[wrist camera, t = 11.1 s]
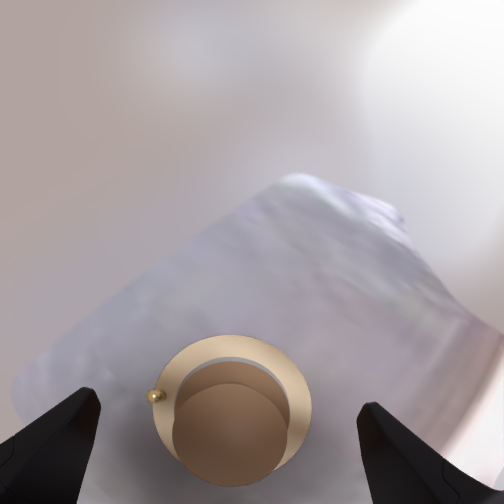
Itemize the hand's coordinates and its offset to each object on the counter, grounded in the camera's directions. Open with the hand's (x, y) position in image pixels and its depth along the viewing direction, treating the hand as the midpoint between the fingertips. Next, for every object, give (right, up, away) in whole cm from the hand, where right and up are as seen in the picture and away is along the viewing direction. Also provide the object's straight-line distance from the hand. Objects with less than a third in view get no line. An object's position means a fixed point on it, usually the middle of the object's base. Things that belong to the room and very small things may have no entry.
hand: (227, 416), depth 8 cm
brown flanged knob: (-1, -7, +11) cm, 12 cm away
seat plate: (-1, -7, +12) cm, 14 cm away
